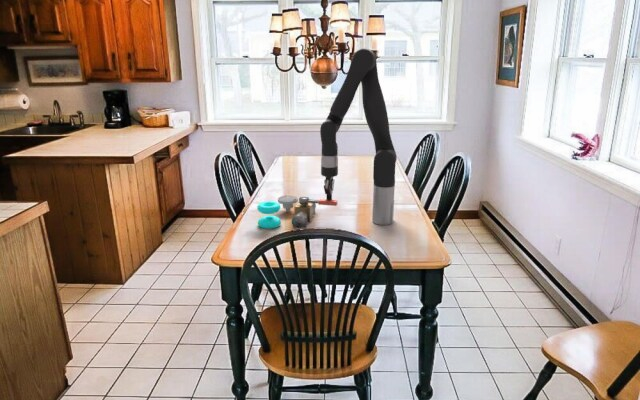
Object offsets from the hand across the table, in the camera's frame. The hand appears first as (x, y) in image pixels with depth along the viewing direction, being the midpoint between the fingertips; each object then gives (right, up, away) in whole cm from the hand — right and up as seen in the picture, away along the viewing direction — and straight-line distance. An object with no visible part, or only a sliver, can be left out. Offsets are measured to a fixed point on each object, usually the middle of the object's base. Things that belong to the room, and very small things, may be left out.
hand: (329, 201), depth 214 cm
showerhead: (-19, -5, +10) cm, 22 cm away
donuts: (-26, -11, -7) cm, 29 cm away
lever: (-5, -1, -4) cm, 7 cm away
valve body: (-11, -8, 0) cm, 14 cm away
